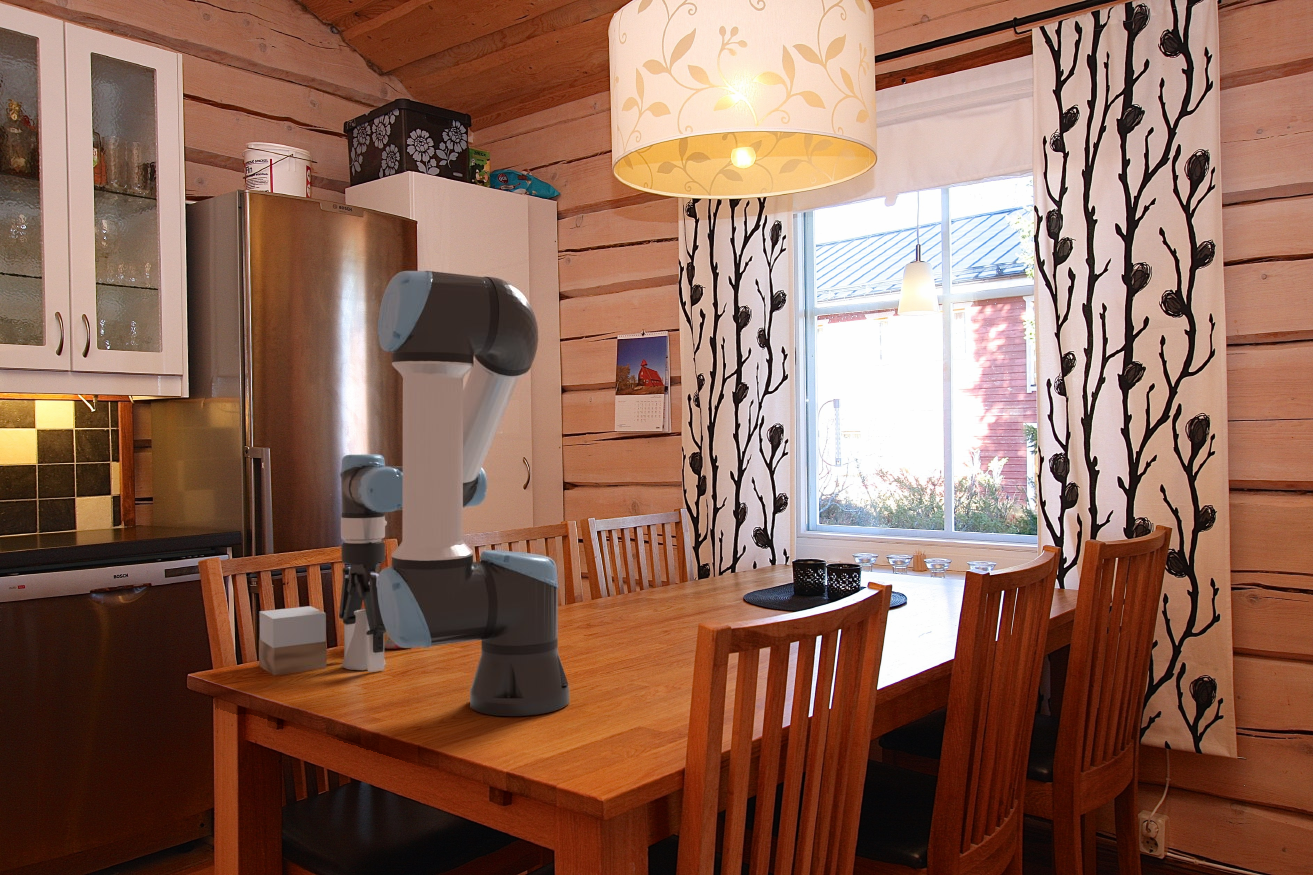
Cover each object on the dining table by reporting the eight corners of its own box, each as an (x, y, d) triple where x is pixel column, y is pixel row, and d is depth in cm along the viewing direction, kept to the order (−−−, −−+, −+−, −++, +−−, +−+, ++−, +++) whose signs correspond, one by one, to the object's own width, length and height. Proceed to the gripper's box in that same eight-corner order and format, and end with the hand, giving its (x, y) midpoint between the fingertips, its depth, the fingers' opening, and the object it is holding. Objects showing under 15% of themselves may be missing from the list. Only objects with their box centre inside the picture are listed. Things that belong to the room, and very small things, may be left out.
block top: (325, 641, 174) (325, 613, 174) (273, 647, 169) (273, 618, 169) (310, 633, 181) (310, 606, 181) (259, 639, 176) (259, 611, 176)
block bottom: (326, 668, 174) (326, 640, 174) (274, 676, 169) (274, 647, 169) (309, 659, 181) (309, 632, 181) (259, 667, 176) (258, 639, 176)
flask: (393, 665, 176) (393, 609, 176) (361, 673, 170) (361, 615, 170) (366, 660, 180) (365, 605, 180) (334, 668, 174) (333, 611, 174)
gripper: (410, 544, 169) (410, 673, 169) (359, 534, 186) (359, 651, 186) (368, 547, 164) (368, 680, 164) (320, 537, 182) (320, 656, 182)
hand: (364, 664), depth 175 cm, fingers open, 10 cm apart
